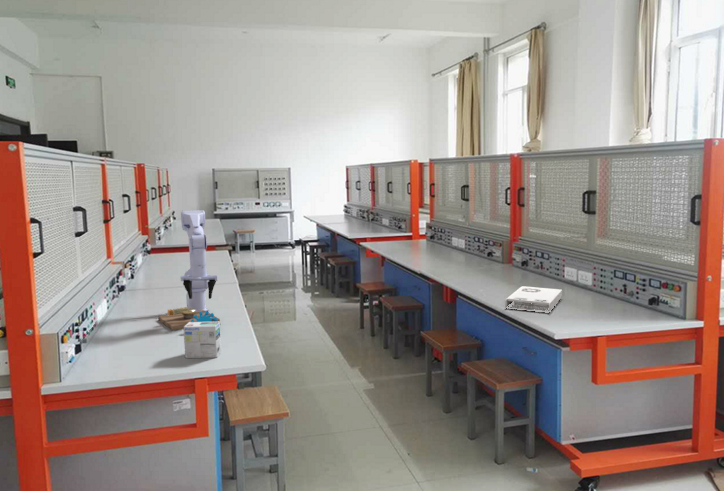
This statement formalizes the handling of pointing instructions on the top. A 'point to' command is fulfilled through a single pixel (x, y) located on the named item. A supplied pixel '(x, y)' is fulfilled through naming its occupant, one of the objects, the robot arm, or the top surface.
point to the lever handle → (181, 311)
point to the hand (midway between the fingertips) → (200, 298)
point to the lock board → (181, 320)
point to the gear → (204, 317)
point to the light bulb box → (202, 339)
